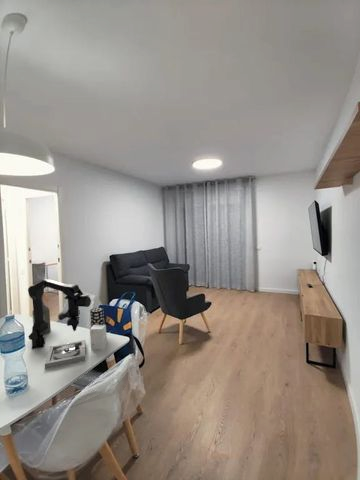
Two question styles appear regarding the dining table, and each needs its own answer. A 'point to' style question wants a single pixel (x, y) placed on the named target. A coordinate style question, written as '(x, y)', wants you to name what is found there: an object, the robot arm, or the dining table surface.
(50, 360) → the grey square tray
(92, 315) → the spotted tube
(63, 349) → the dial
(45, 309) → the liquor
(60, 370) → the dining table surface
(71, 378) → the dining table surface
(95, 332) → the small box
